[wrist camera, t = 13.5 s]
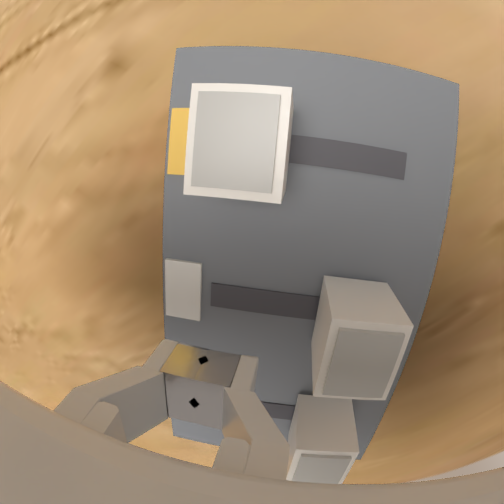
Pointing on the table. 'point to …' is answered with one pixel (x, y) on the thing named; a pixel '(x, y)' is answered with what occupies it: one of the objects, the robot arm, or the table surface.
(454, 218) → the table surface
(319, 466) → the knob
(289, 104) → the knob
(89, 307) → the table surface
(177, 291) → the console
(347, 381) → the knob
